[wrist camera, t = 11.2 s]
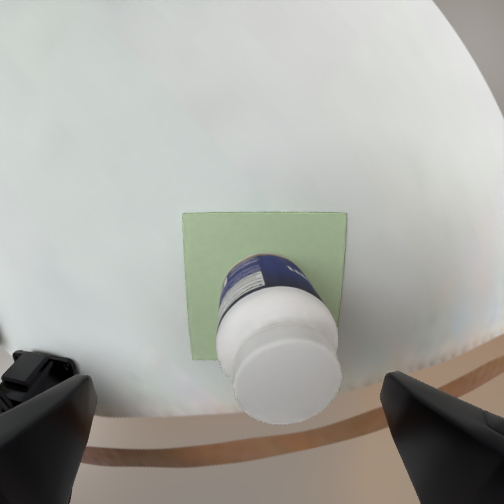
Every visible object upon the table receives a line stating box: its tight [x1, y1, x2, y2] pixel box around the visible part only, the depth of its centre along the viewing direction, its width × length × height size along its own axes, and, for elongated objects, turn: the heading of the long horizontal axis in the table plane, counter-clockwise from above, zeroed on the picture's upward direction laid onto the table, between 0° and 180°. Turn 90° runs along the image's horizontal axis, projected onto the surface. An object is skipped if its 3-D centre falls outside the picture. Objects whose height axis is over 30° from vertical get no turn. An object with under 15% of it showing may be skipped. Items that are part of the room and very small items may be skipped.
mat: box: [182, 212, 347, 360], centre depth 20 cm, size 10×10×1 cm
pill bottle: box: [216, 252, 342, 425], centre depth 15 cm, size 5×5×10 cm
